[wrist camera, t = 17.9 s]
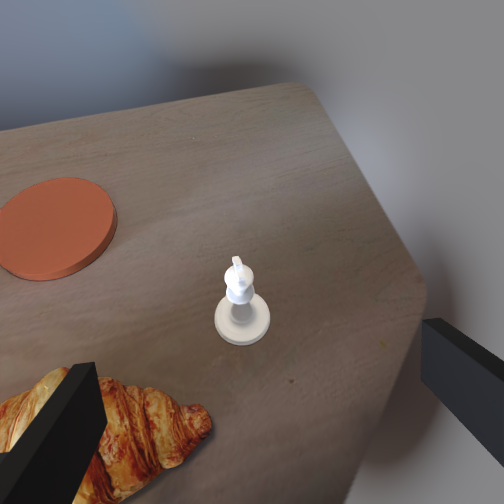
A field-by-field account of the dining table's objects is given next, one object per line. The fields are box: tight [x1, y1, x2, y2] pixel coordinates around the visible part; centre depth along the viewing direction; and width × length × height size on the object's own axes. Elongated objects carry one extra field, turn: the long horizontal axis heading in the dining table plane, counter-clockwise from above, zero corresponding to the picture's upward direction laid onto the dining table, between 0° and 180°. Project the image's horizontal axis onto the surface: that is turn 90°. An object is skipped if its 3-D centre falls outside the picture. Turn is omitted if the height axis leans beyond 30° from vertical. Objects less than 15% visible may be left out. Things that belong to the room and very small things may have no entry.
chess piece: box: [215, 256, 270, 345], centre depth 27 cm, size 5×5×10 cm
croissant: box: [0, 367, 212, 504], centre depth 24 cm, size 21×10×8 cm, turn 101°
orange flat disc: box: [0, 178, 117, 281], centre depth 36 cm, size 12×12×1 cm
